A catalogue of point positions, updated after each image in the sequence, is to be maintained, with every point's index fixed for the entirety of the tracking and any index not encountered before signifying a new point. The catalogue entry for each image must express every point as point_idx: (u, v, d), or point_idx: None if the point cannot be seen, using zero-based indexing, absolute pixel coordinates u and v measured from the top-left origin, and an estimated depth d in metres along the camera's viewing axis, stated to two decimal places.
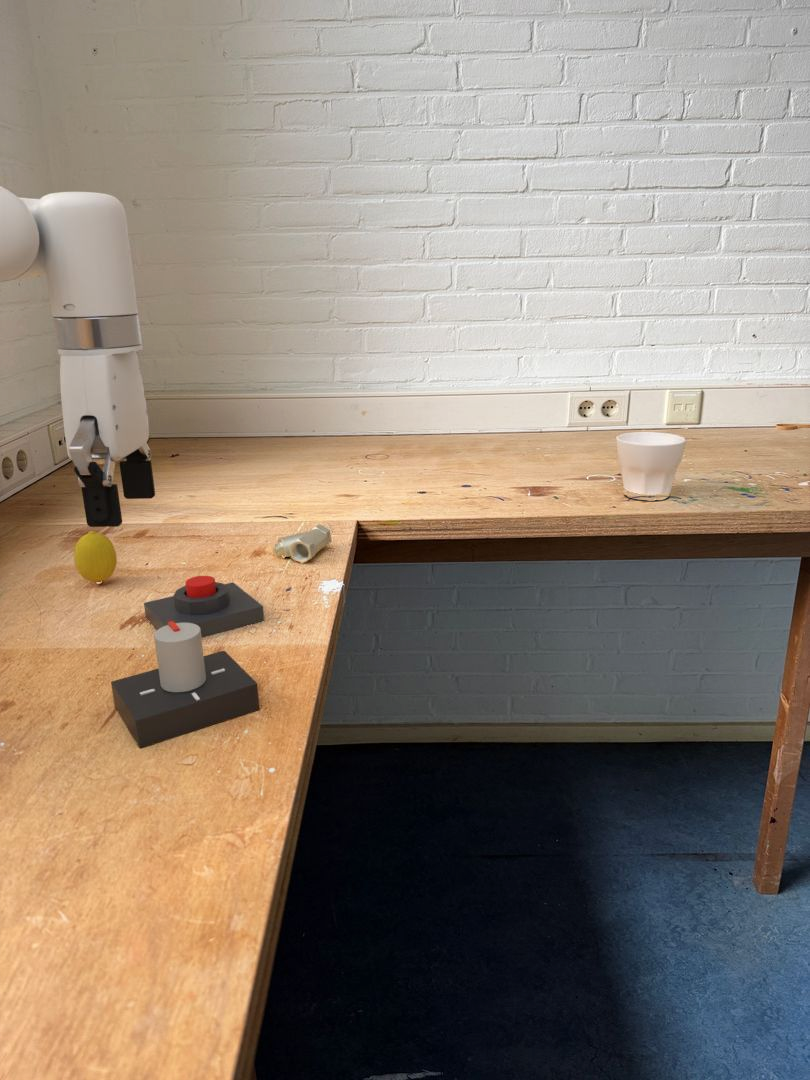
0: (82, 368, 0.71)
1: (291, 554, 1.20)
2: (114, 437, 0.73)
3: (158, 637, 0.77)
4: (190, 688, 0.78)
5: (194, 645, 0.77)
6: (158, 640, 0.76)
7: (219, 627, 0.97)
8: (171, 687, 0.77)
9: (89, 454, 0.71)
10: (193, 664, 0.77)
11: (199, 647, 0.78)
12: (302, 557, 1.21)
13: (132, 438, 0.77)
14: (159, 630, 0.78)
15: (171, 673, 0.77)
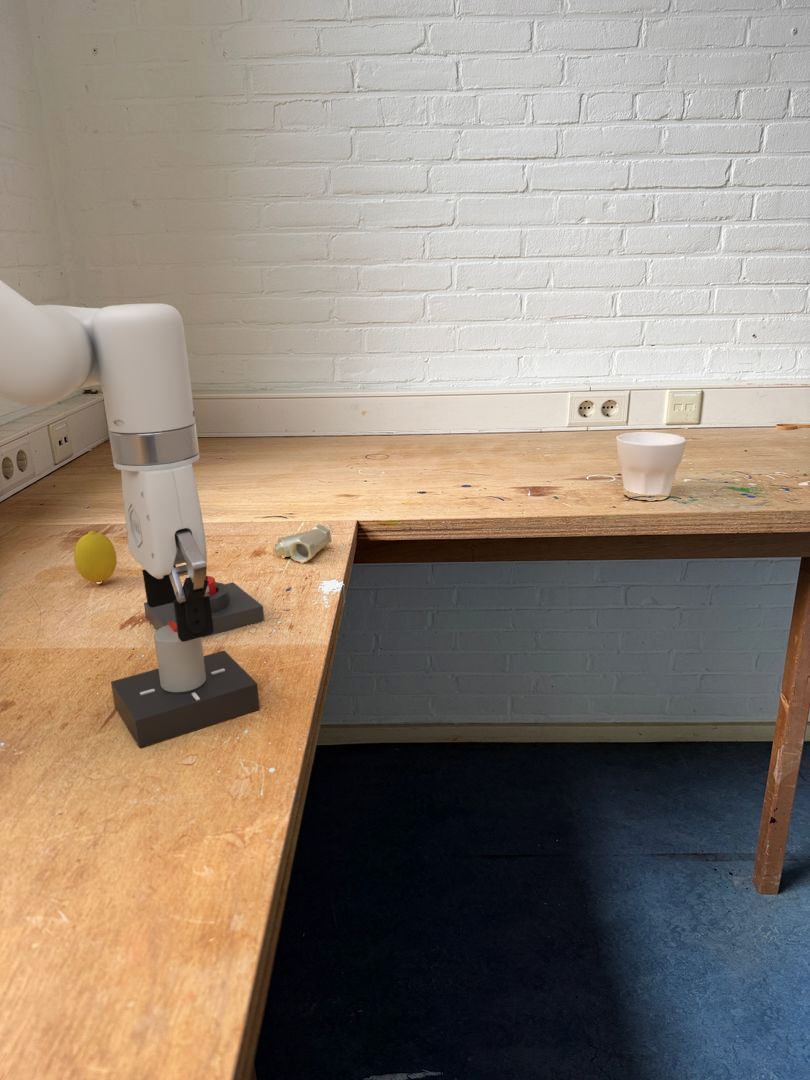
0: (174, 483, 0.69)
1: (291, 554, 1.20)
2: (205, 546, 0.72)
3: (158, 637, 0.77)
4: (190, 688, 0.78)
5: (194, 645, 0.77)
6: (158, 640, 0.76)
7: (219, 627, 0.97)
8: (171, 687, 0.77)
9: None
10: (193, 664, 0.77)
11: (199, 647, 0.78)
12: (302, 557, 1.21)
13: None
14: (159, 630, 0.78)
15: (171, 673, 0.77)
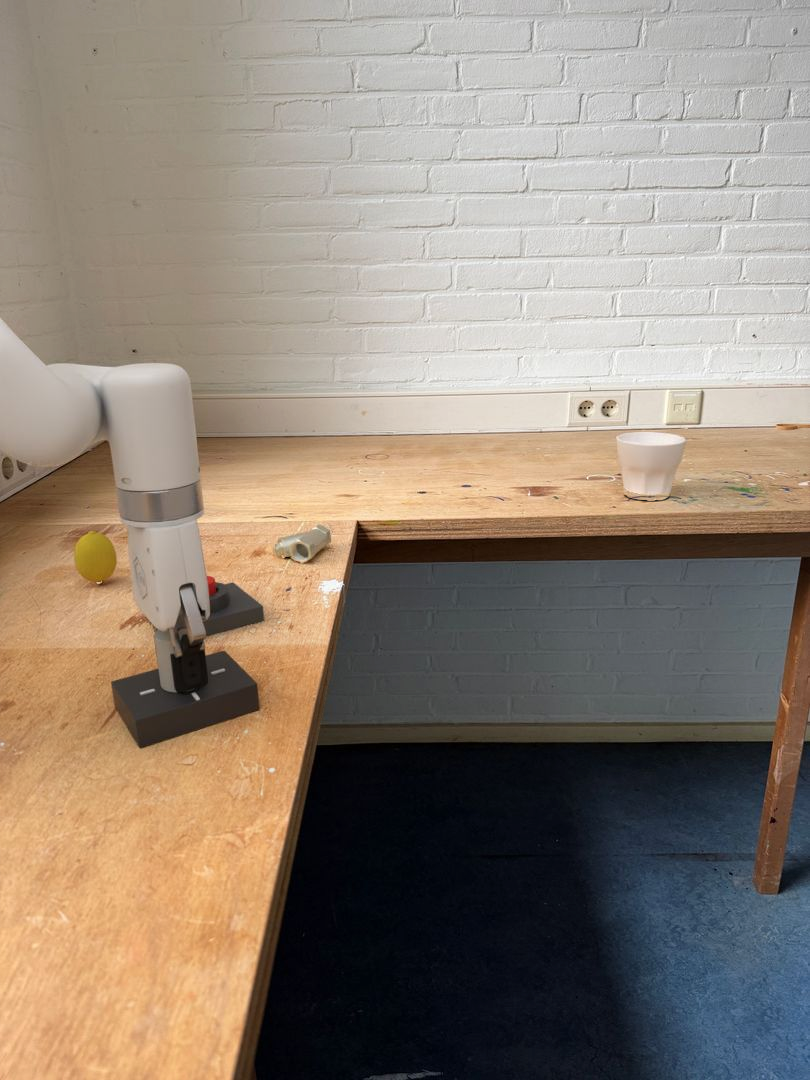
0: (179, 539, 0.71)
1: (291, 554, 1.20)
2: (208, 599, 0.74)
3: (158, 637, 0.77)
4: None
5: None
6: (158, 640, 0.76)
7: (219, 627, 0.97)
8: (171, 687, 0.77)
9: None
10: None
11: None
12: (302, 557, 1.21)
13: None
14: (159, 630, 0.78)
15: (171, 673, 0.77)
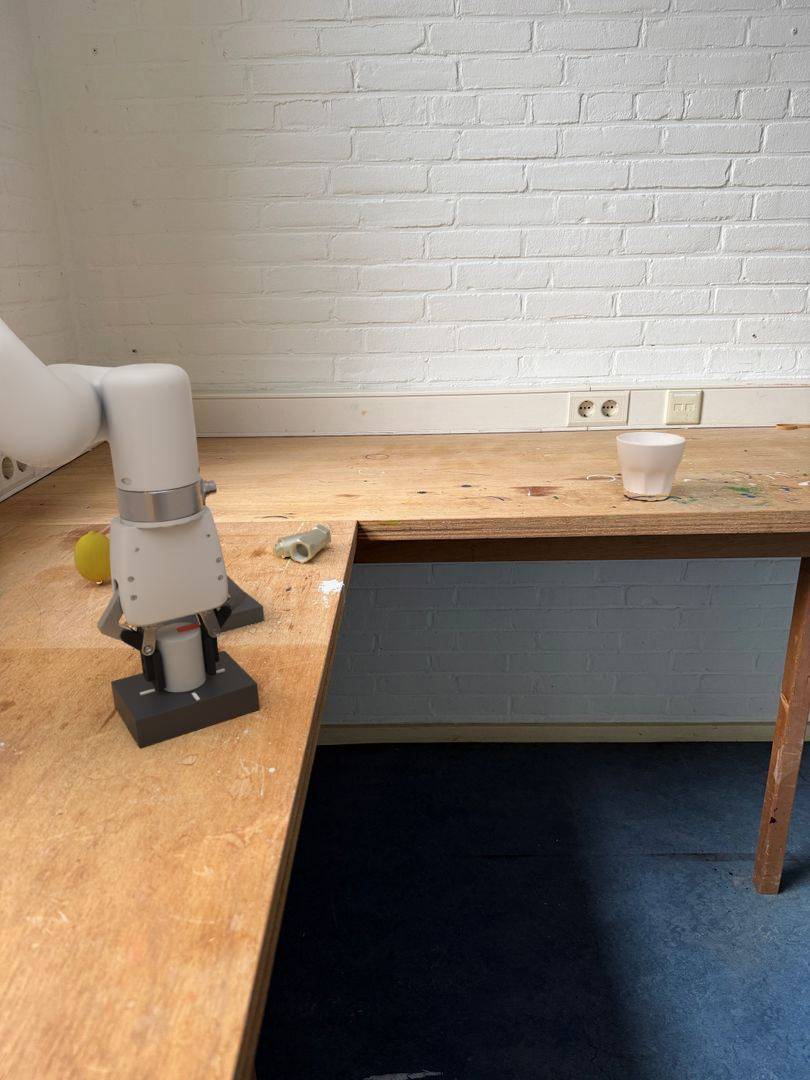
0: (113, 536, 0.72)
1: (291, 554, 1.20)
2: (128, 606, 0.72)
3: (169, 625, 0.79)
4: None
5: (161, 649, 0.76)
6: (163, 627, 0.79)
7: None
8: None
9: (116, 628, 0.74)
10: None
11: (167, 655, 0.76)
12: (302, 557, 1.21)
13: (171, 606, 0.74)
14: (186, 623, 0.80)
15: None
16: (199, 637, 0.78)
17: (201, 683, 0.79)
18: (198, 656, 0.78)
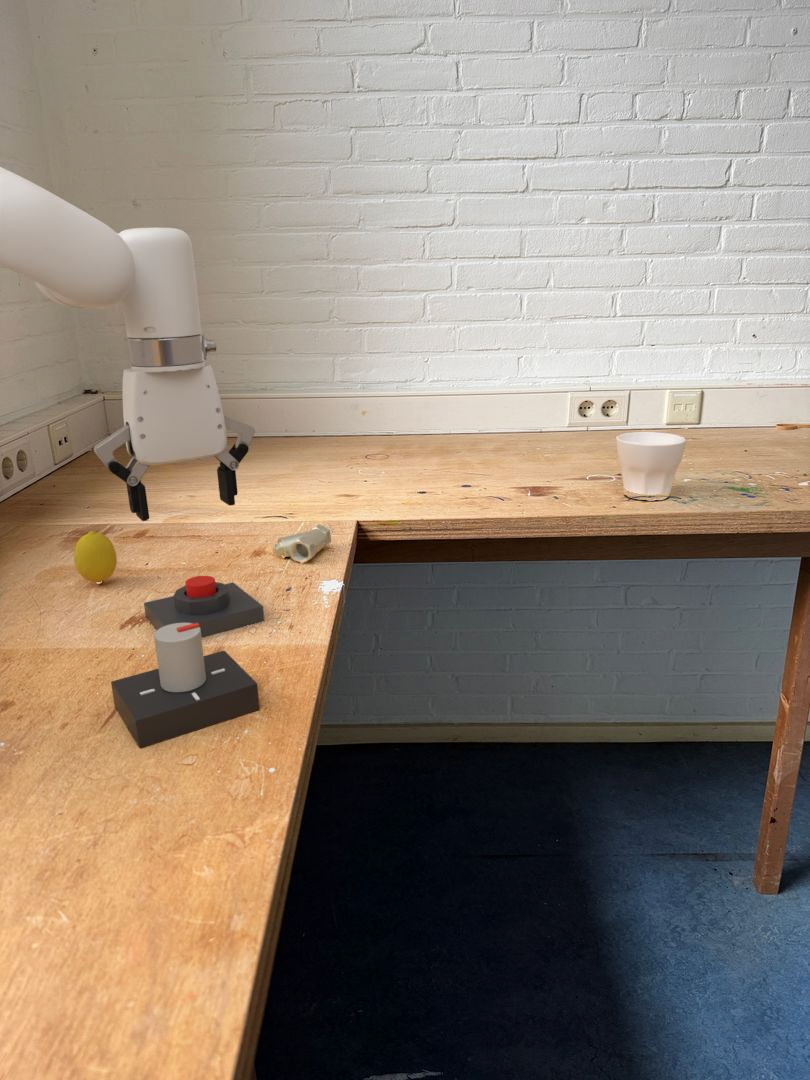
0: (125, 382, 0.82)
1: (291, 554, 1.20)
2: (138, 444, 0.83)
3: (169, 625, 0.79)
4: (161, 685, 0.78)
5: (161, 649, 0.76)
6: (163, 627, 0.79)
7: (219, 627, 0.97)
8: None
9: (109, 455, 0.83)
10: (161, 666, 0.77)
11: (167, 655, 0.76)
12: (302, 557, 1.21)
13: (175, 448, 0.85)
14: (185, 623, 0.80)
15: None
16: (199, 637, 0.78)
17: (201, 683, 0.79)
18: (198, 656, 0.78)
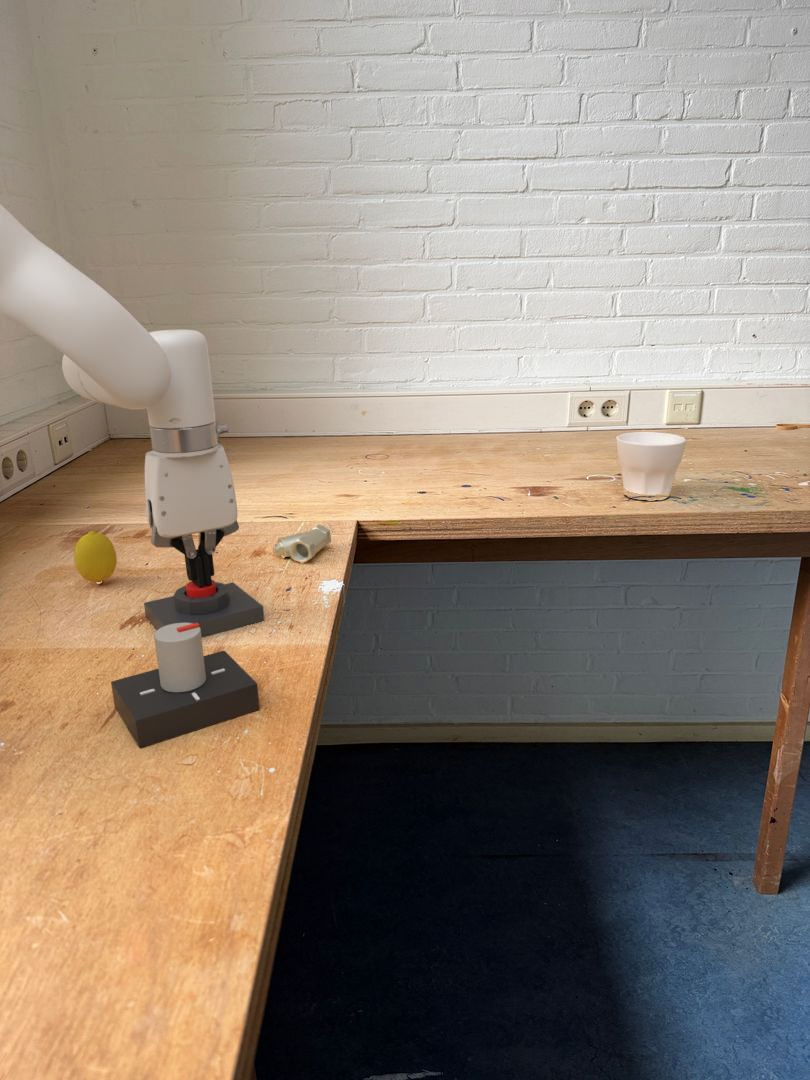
0: (148, 465, 0.92)
1: (291, 554, 1.20)
2: (159, 520, 0.93)
3: (169, 625, 0.79)
4: (161, 685, 0.78)
5: (161, 649, 0.76)
6: (163, 627, 0.79)
7: (219, 627, 0.97)
8: None
9: (165, 539, 0.95)
10: (161, 666, 0.77)
11: (167, 655, 0.76)
12: (302, 557, 1.21)
13: (192, 522, 0.95)
14: (185, 623, 0.80)
15: None
16: (199, 637, 0.78)
17: (201, 683, 0.79)
18: (198, 656, 0.78)
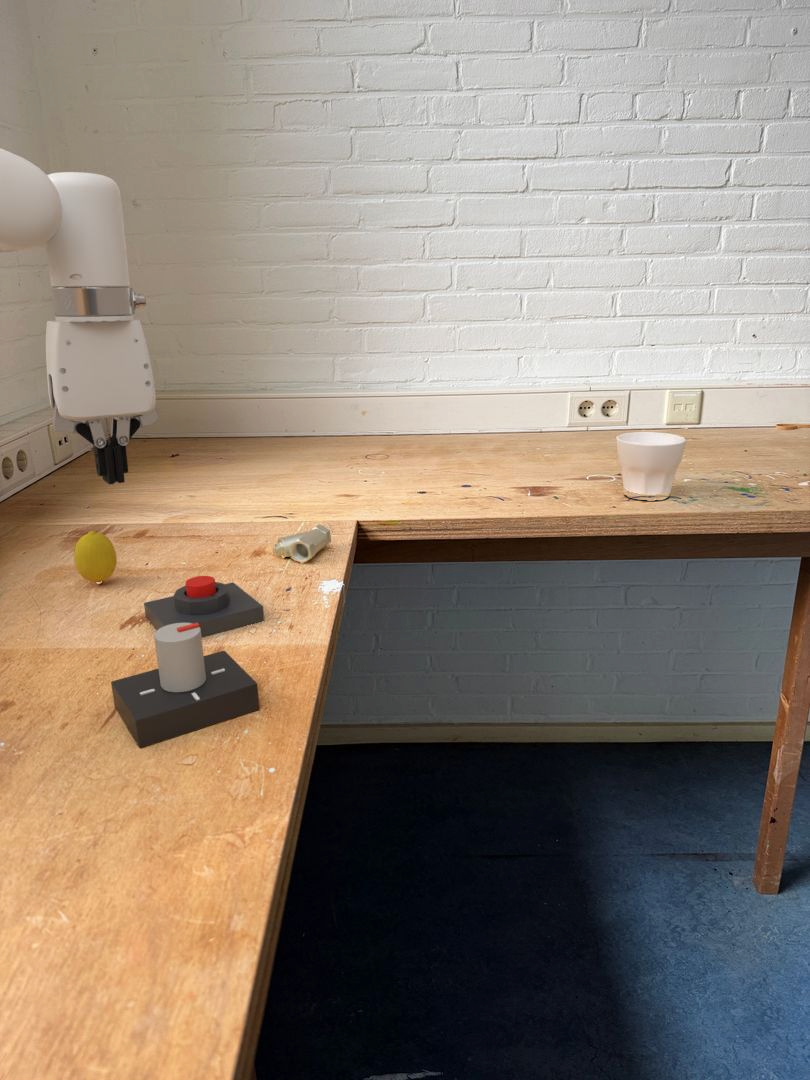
0: (48, 332, 0.80)
1: (291, 554, 1.20)
2: (60, 397, 0.80)
3: (169, 625, 0.79)
4: (161, 685, 0.78)
5: (161, 649, 0.76)
6: (163, 627, 0.79)
7: (219, 627, 0.97)
8: None
9: (69, 423, 0.82)
10: (161, 666, 0.77)
11: (167, 655, 0.76)
12: (302, 557, 1.21)
13: (100, 403, 0.82)
14: (185, 623, 0.80)
15: None
16: (199, 637, 0.78)
17: (201, 683, 0.79)
18: (198, 656, 0.78)
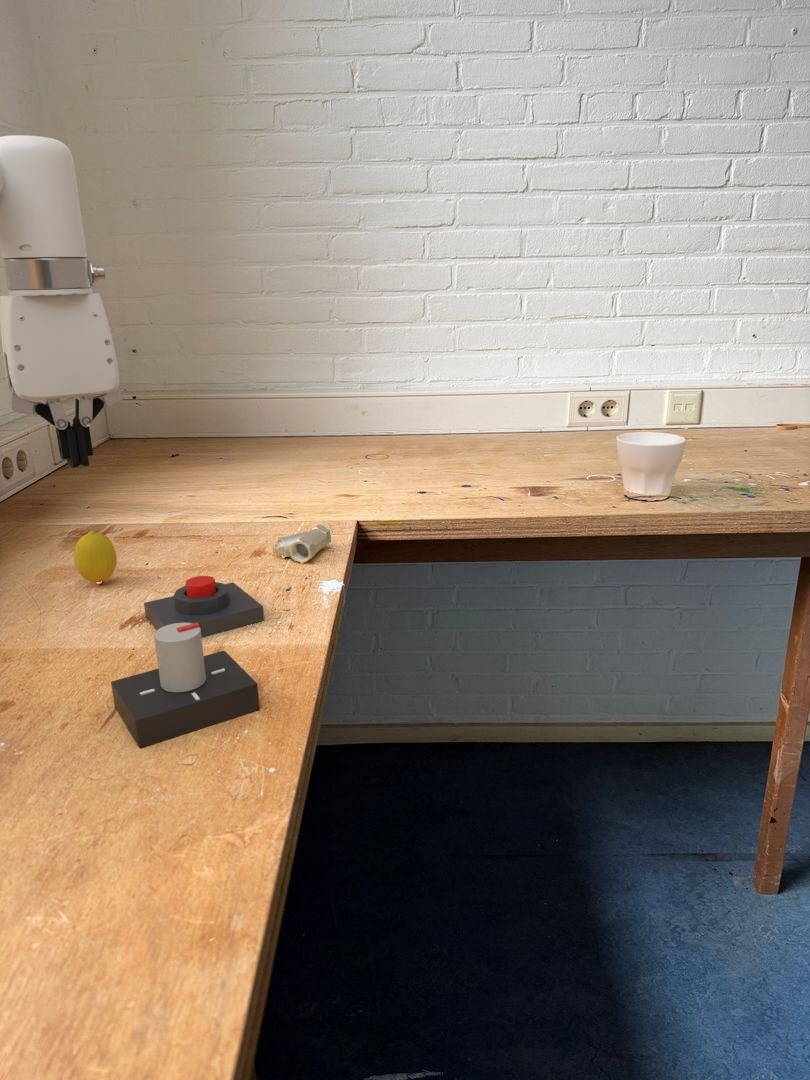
0: (1, 308, 0.76)
1: (291, 554, 1.20)
2: (16, 376, 0.76)
3: (169, 625, 0.79)
4: (161, 685, 0.78)
5: (161, 649, 0.76)
6: (163, 627, 0.79)
7: (219, 627, 0.97)
8: None
9: (27, 404, 0.78)
10: (161, 666, 0.77)
11: (167, 655, 0.76)
12: (302, 557, 1.21)
13: (59, 382, 0.78)
14: (185, 623, 0.80)
15: None
16: (199, 637, 0.78)
17: (201, 683, 0.79)
18: (198, 656, 0.78)
